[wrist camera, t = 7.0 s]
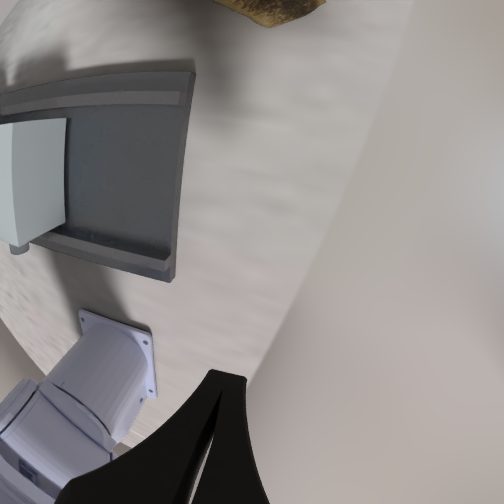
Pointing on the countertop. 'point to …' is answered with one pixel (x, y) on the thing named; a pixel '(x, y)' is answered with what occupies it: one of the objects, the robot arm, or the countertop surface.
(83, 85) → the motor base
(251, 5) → the rock
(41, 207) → the pale blue-grey box
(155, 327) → the countertop surface
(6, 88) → the countertop surface
